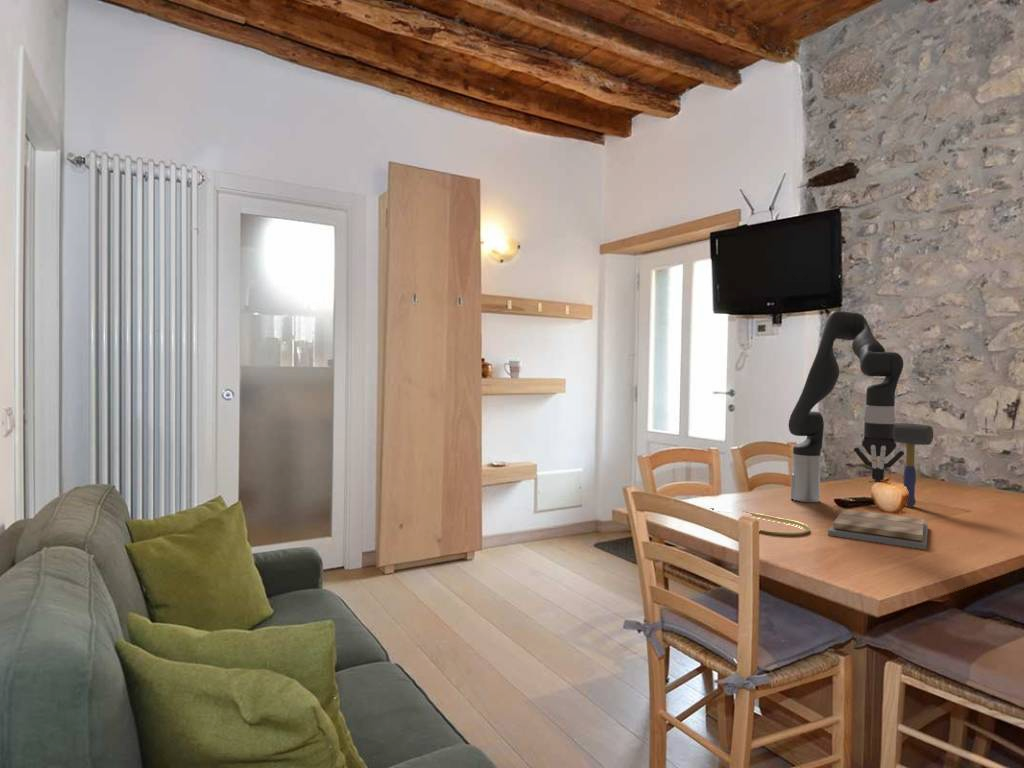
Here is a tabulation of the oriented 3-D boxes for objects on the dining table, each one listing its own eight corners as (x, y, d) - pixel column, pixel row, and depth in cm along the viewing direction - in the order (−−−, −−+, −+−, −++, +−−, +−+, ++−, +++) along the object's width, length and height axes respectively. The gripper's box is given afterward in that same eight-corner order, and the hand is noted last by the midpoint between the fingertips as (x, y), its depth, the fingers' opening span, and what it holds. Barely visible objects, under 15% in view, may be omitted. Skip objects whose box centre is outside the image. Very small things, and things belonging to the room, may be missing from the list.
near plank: (832, 528, 181) (833, 522, 181) (836, 523, 187) (836, 518, 187) (922, 541, 168) (922, 535, 168) (922, 535, 174) (922, 530, 174)
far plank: (839, 518, 194) (840, 513, 194) (843, 513, 200) (843, 509, 200) (923, 529, 181) (923, 524, 181) (923, 524, 188) (923, 519, 188)
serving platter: (715, 509, 212) (715, 505, 212) (820, 530, 186) (820, 525, 186) (685, 518, 200) (685, 513, 200) (793, 541, 174) (793, 536, 174)
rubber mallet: (932, 508, 217) (935, 424, 216) (925, 511, 212) (927, 425, 211) (893, 501, 226) (895, 421, 226) (885, 504, 222) (888, 422, 221)
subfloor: (827, 535, 180) (828, 524, 180) (840, 516, 203) (840, 507, 202) (926, 550, 166) (926, 538, 166) (927, 528, 189) (927, 518, 189)
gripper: (907, 422, 174) (905, 482, 175) (854, 419, 182) (853, 476, 183) (906, 424, 168) (904, 486, 169) (851, 420, 176) (850, 480, 176)
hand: (877, 481), depth 176 cm, fingers closed
